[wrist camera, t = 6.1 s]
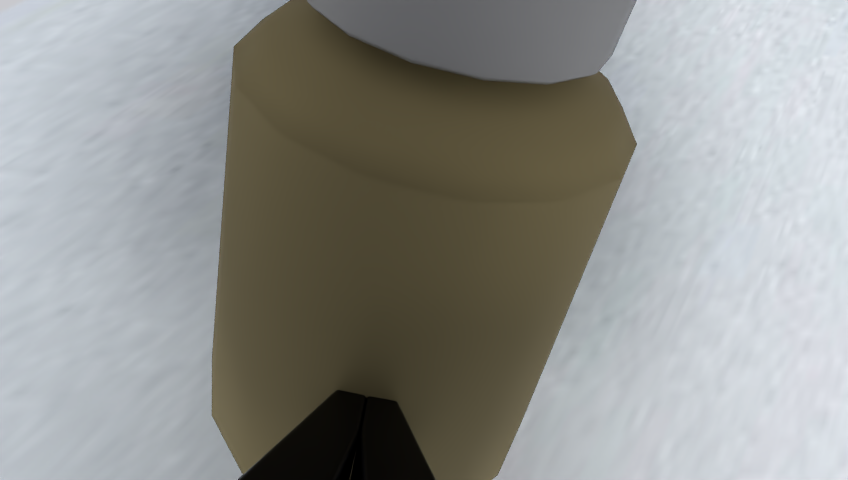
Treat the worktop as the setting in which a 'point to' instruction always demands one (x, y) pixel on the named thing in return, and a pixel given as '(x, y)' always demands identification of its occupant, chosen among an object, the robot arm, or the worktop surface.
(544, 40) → the squeeze bottle
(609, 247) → the worktop surface
